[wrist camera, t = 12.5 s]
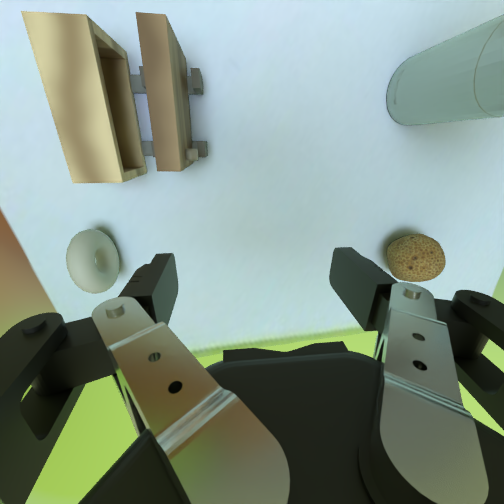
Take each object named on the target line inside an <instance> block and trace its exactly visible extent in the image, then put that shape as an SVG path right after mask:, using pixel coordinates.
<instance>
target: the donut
mask: <svg viewBox="0 0 504 504" xmlns="http://www.w3.org/2000/svg"><path fill="white" fill-rule="evenodd" d="M95 259H96V263H95ZM66 262H67V269H68V272H69V274H70V277H71V278H72V280H73V281H74V283H75V284H76V285H77V286H78V287H79V288H81V289H82V290H83V291H86V292H89V293H93V294H97V293H101V292H105V291H107V290H108V289H109V288H111V287H112V286H113V285H114V283H115V281H116V279H117V277H118V273H119V257H118V253H117V249H116V247H115V245H114V243H113V242H112V240H111V239H110V238H109V237H108V236H107V235H106V234H104V233H103V232H101V231H98V230H93V229H88V230H85V231H81V232H79V233H78V234H76V235H75V236H74V237H73V238H72V239H71V241H70V244H69V246H68V248H67V254H66Z"/></svg>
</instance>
